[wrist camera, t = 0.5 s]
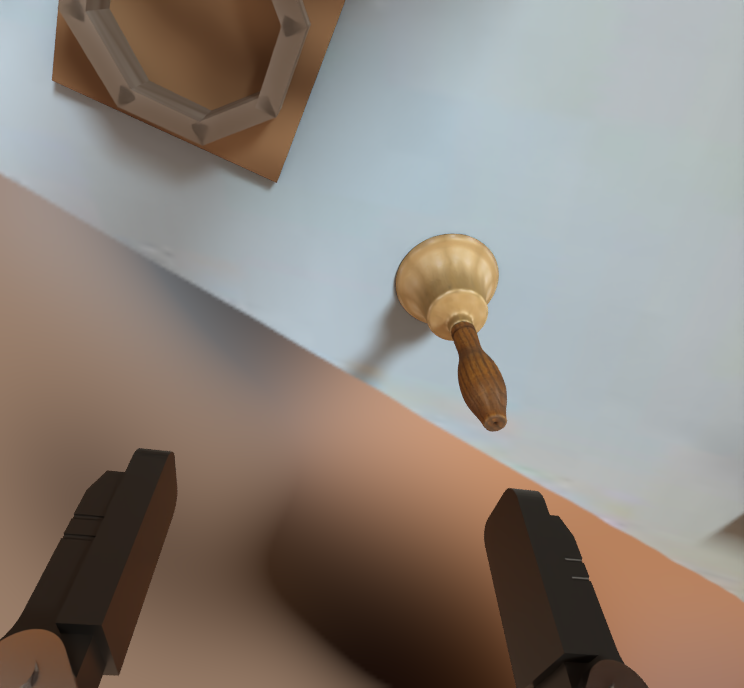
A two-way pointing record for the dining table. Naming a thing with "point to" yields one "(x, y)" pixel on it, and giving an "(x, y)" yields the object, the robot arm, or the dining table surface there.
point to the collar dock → (201, 68)
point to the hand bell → (458, 312)
